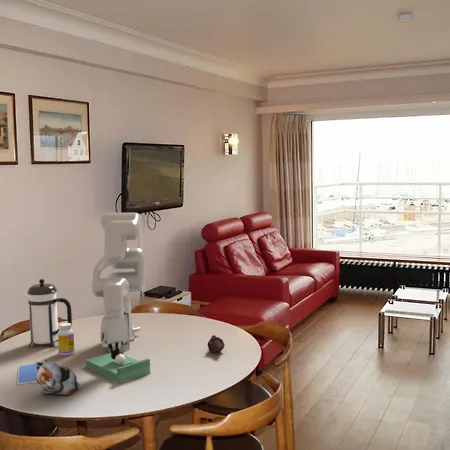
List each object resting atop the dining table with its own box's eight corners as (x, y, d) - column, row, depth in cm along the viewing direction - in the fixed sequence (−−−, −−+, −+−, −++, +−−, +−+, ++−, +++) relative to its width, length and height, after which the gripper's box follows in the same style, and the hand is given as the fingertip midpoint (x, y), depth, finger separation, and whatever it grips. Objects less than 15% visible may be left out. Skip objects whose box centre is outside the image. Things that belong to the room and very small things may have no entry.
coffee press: (36, 351, 245) (33, 284, 242) (22, 343, 257) (18, 279, 253) (73, 343, 256) (70, 278, 253) (58, 335, 268) (55, 273, 265)
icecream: (229, 342, 234) (222, 334, 248) (212, 339, 232) (205, 331, 247) (226, 358, 234) (218, 350, 248) (208, 355, 232) (202, 347, 247)
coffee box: (130, 348, 248) (129, 312, 246) (123, 353, 242) (121, 316, 240) (112, 346, 251) (111, 311, 249) (104, 351, 244) (103, 314, 243)
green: (115, 358, 235) (115, 345, 234) (150, 372, 218) (149, 359, 217) (85, 367, 225) (85, 354, 224) (119, 382, 208) (119, 368, 207)
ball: (124, 365, 220) (119, 358, 222) (128, 358, 218) (123, 351, 221) (116, 367, 217) (111, 360, 219) (120, 360, 215) (115, 352, 218)
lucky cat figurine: (82, 394, 198) (66, 366, 191) (50, 411, 195) (32, 384, 188) (75, 369, 210) (59, 342, 204) (45, 385, 208) (28, 358, 201)
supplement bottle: (70, 356, 238) (68, 326, 237) (55, 355, 240) (54, 326, 238) (77, 351, 245) (76, 322, 243) (63, 350, 246) (62, 321, 245)
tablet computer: (52, 382, 211) (51, 378, 211) (16, 386, 208) (16, 383, 207) (51, 365, 230) (51, 361, 230) (18, 368, 226) (18, 365, 226)
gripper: (124, 308, 228) (125, 352, 229) (91, 315, 217) (93, 361, 219) (135, 311, 222) (136, 356, 224) (102, 319, 212) (104, 366, 214)
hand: (115, 358), depth 222 cm, fingers closed
